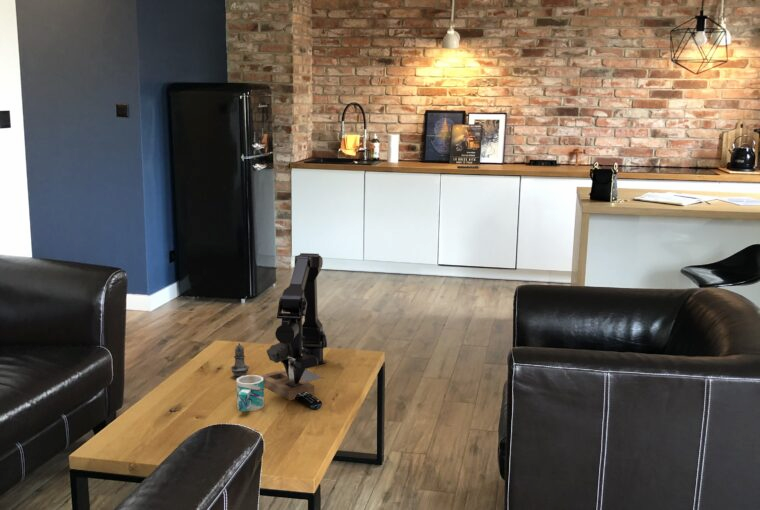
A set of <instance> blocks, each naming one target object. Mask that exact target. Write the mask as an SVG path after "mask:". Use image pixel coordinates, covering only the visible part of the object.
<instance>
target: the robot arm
mask: <svg viewBox="0 0 760 510" xmlns="http://www.w3.org/2000/svg"><path fill="white" fill-rule="evenodd" d="M323 262H324V261H323V257H322V256H321V255H320V253H314V252H313V253H311V252H310V253H308V252H300V254H298V255H294V268H293V272H292V275H291V279H290V282H289V285H288V286H287V287H286V288H285V289H283V292H282V295H281V296H280V297H279V298H278V299H279V301H278V306H277V307H278V308H277V314H276V319H280V320H281V323H280V325H278V327H277V328H276V329H275V332H274V333H275V334H274V336H275V338H276V340H277V341H278V343H276V344H272V345H271V346H270V347H269V348H268V349H267V350H266V353H267V354H266V355H267V356H268V359H269V361H271V362H274V364H275V363H276V364H279V363H280V362H281V364H282V365H283V367H284V369H285V370H284V371H286V373H287V376H288V379H289V365H290V366H291V367H292V368H293V373H294V381H295V384H297V383H299V381H300V379H301V377H302V375H303V373H304V371H305V369H306V370H307V369H309V368H310V369H311V368H314V367H318V366H320V365H325V364H326V361H324V349H326V348H327V347H328V340H327V339H328V338H327V335H326V333H325V331H324V326H323V323H322V322H321V321H320V319H319V317H318V316H319V315H318V314H319V313H318V311H319V310H318V283H317V282H318V279H317V277H318V276H319V275H320V272H321V271H322V268H323V264H324V263H323ZM303 319H304V321H303ZM290 359H294V360H295V361H294V363H293V364H289V365H288V360H290Z"/></svg>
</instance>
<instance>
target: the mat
mask: <svg viewBox="0 0 760 510" xmlns="http://www.w3.org/2000/svg"><path fill="white" fill-rule="evenodd" d="M322 378H323V377H322V376H321V375H318V374H317V373H314V372H312V371H310V370H308V369H307V368H306V369H305V371H304V373H303V375H302V377H301V379H302V380H304V381H306V382H308V383H309V382H311V381H315V380H319V379H322Z"/></svg>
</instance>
